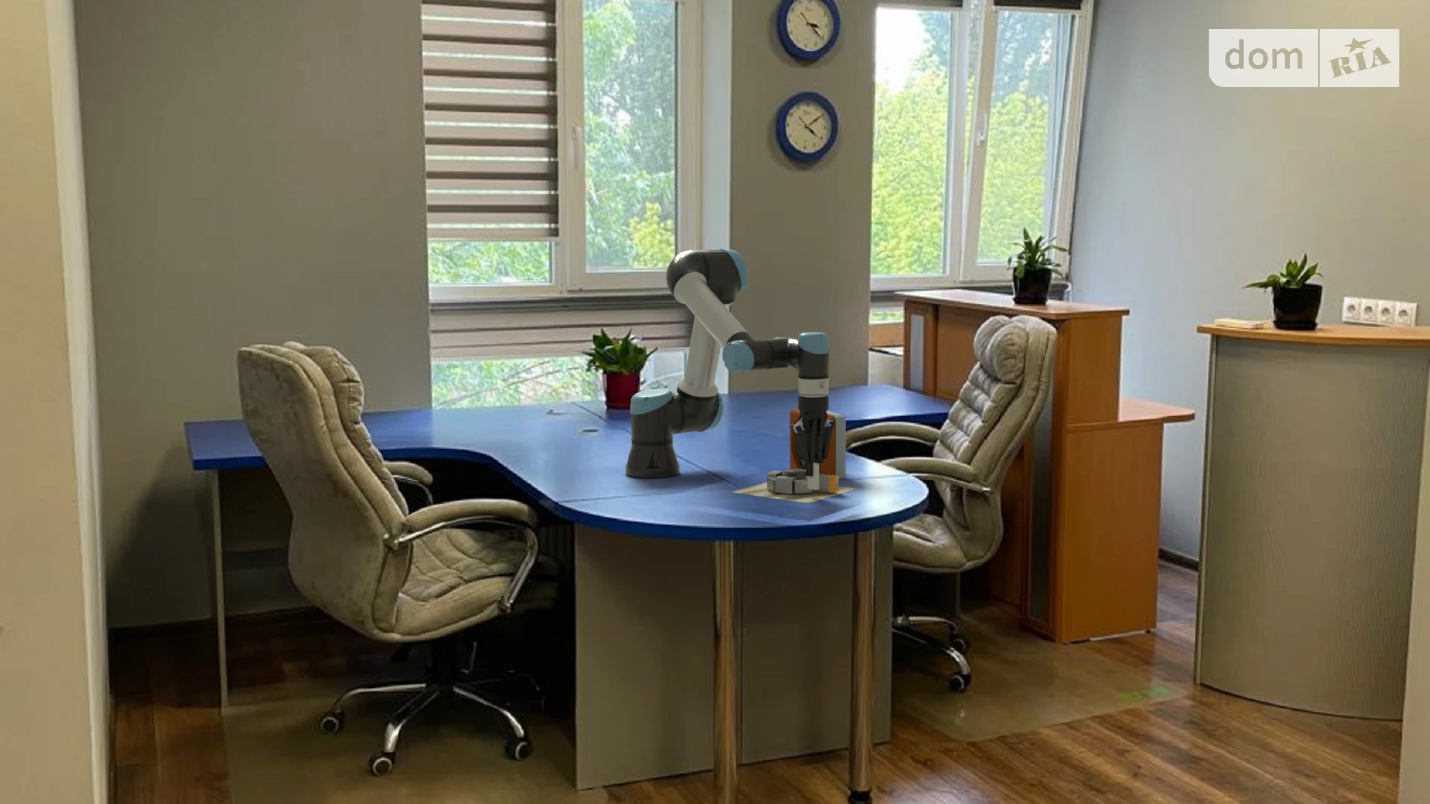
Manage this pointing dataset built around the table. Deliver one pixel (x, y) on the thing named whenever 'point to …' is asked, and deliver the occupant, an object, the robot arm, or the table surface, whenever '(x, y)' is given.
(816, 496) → the collar base
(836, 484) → the grey handled ring
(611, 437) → the table surface
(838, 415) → the alarm clock
